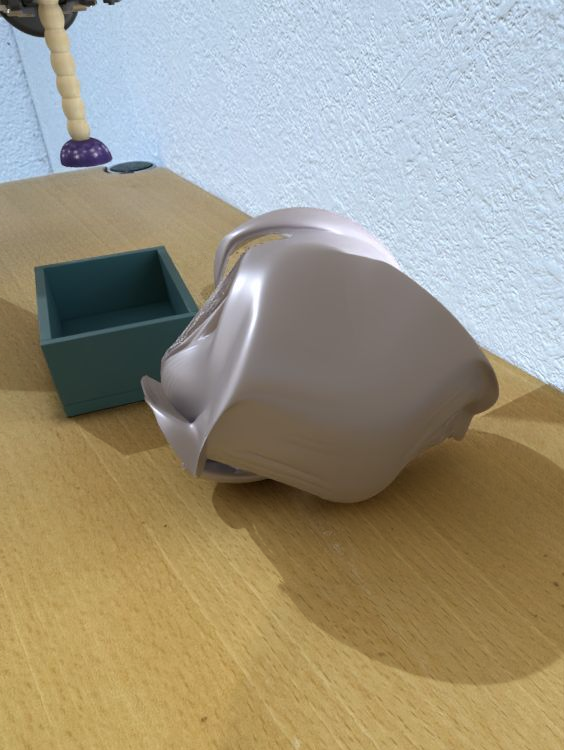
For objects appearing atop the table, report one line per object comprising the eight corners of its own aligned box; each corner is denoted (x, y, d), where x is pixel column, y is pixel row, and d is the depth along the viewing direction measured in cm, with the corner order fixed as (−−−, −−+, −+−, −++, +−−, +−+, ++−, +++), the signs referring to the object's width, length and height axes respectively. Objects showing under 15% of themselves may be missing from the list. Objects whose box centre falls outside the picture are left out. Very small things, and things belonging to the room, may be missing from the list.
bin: (55, 329, 66) (33, 266, 62) (177, 306, 69) (164, 245, 65) (66, 417, 53) (40, 345, 49) (216, 384, 56) (201, 314, 53)
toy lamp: (97, 152, 62) (32, -92, 52) (131, 158, 60) (71, -96, 49) (51, 165, 59) (-28, -92, 49) (85, 171, 57) (10, -96, 46)
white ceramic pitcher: (193, 593, 40) (158, 391, 29) (137, 402, 50) (96, 199, 39) (493, 511, 46) (558, 321, 35) (389, 357, 57) (414, 172, 46)
